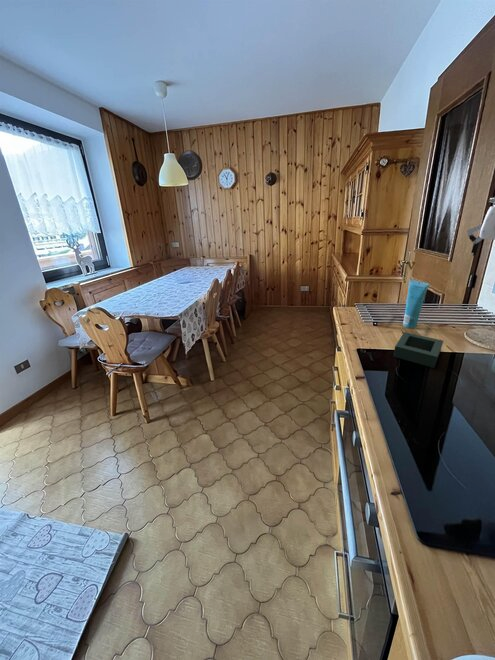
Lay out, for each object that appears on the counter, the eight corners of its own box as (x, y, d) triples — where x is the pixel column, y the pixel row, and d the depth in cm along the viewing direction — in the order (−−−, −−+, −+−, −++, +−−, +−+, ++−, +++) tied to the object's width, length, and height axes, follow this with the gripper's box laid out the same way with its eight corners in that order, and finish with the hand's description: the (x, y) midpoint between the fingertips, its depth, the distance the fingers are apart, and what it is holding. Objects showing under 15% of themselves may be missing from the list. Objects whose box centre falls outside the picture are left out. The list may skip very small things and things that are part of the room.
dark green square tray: (439, 352, 100) (443, 340, 98) (433, 369, 92) (437, 356, 89) (401, 343, 107) (404, 331, 105) (392, 358, 99) (395, 346, 96)
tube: (421, 326, 117) (432, 281, 108) (416, 330, 114) (426, 285, 105) (402, 321, 122) (411, 278, 113) (397, 325, 119) (406, 281, 110)
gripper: (474, 203, 91) (459, 256, 99) (549, 202, 81) (526, 261, 89) (476, 201, 96) (461, 252, 104) (547, 199, 86) (525, 256, 94)
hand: (491, 256), depth 96 cm, fingers open, 9 cm apart
